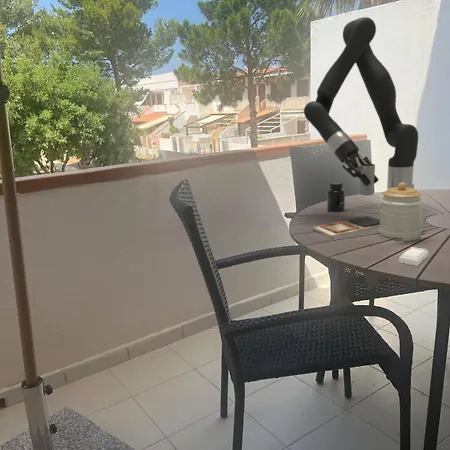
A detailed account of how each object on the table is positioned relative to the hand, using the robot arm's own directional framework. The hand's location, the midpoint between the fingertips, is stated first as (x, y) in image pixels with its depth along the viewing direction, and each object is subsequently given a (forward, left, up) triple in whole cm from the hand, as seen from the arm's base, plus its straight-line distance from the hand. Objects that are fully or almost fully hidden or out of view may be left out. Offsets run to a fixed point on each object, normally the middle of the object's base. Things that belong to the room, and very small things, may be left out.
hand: (372, 183), depth 149 cm
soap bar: (+12, +31, -16) cm, 37 cm away
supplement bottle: (-2, -23, -16) cm, 28 cm away
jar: (0, +13, -16) cm, 20 cm away
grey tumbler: (+1, -2, -4) cm, 5 cm away
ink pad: (+1, -2, -14) cm, 15 cm away
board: (+7, -2, -16) cm, 17 cm away
